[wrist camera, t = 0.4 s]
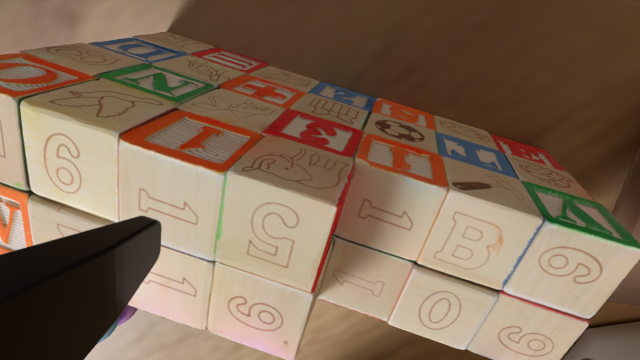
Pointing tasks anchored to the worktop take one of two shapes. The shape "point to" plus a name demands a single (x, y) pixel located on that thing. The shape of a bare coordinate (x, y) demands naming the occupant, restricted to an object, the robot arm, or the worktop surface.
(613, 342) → the flask
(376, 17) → the worktop surface
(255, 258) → the stack of blocks
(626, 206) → the plinth
